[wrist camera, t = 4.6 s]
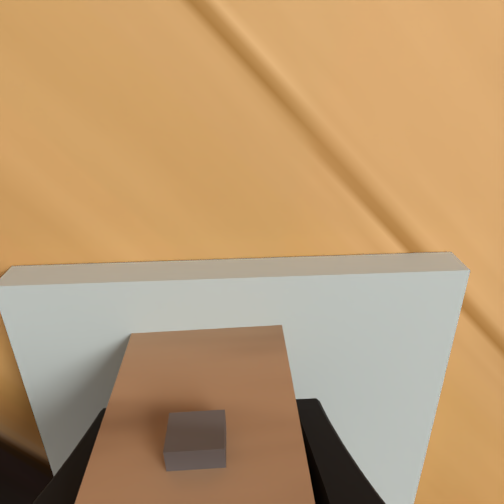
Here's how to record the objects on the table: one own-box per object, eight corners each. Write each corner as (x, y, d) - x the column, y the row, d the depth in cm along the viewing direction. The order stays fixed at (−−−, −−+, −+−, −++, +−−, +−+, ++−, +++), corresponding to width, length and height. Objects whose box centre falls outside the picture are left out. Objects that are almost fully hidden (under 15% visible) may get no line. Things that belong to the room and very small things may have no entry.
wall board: (398, 498, 19) (430, 586, 16) (84, 515, 18) (56, 610, 15) (451, 252, 13) (516, 313, 10) (12, 266, 13) (-55, 335, 10)
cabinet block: (282, 451, 15) (310, 672, 10) (155, 459, 15) (115, 688, 10) (281, 309, 13) (320, 507, 7) (128, 318, 13) (53, 525, 7)
